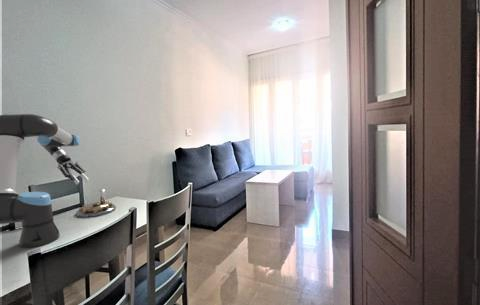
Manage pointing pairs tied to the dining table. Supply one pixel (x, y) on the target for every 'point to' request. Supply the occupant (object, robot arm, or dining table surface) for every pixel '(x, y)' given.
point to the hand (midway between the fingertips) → (82, 182)
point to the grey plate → (87, 215)
